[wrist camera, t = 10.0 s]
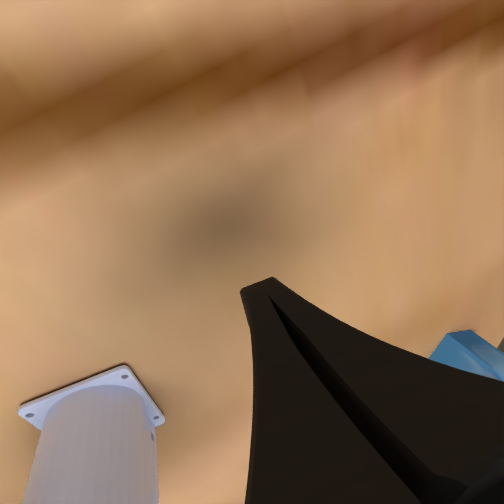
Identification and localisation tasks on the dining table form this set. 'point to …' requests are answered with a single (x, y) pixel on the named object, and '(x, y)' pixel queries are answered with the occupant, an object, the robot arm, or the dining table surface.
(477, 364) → the perfume bottle
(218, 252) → the dining table surface
